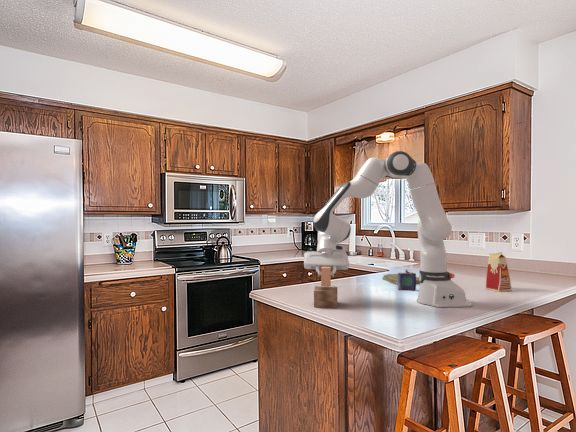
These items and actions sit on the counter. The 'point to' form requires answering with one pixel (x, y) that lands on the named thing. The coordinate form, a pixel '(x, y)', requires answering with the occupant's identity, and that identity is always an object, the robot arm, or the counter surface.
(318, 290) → the small wooden cube
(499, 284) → the milk carton
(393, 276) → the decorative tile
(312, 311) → the counter surface
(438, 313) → the counter surface
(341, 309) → the counter surface
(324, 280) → the terracotta block
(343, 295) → the counter surface
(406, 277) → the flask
